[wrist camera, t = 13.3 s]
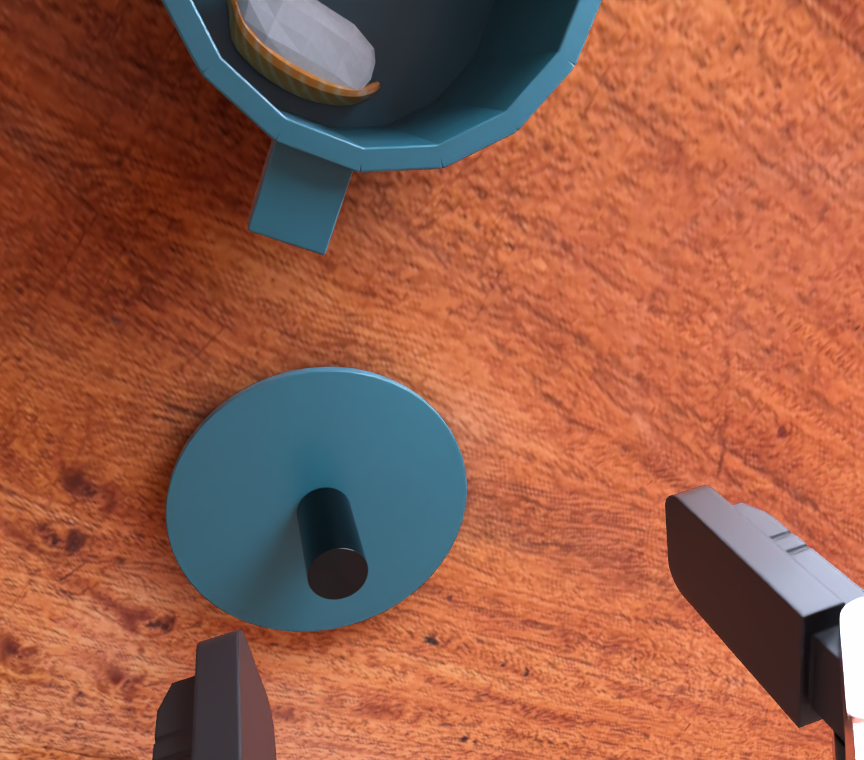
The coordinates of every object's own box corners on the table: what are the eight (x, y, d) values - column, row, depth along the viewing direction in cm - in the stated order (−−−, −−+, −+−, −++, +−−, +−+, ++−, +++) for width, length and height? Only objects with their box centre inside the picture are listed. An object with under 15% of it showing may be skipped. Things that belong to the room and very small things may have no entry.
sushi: (390, 56, 28) (352, 130, 29) (228, -49, 26) (190, 34, 26) (403, 53, 26) (361, 134, 26) (225, -63, 23) (184, 29, 24)
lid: (133, 594, 34) (116, 690, 29) (215, 324, 31) (213, 377, 25) (403, 633, 39) (432, 722, 34) (502, 403, 35) (552, 463, 30)
